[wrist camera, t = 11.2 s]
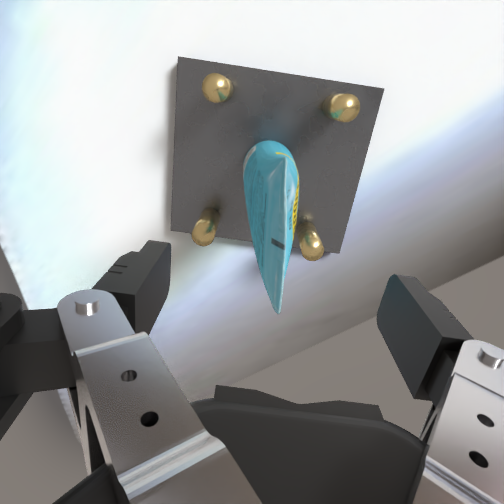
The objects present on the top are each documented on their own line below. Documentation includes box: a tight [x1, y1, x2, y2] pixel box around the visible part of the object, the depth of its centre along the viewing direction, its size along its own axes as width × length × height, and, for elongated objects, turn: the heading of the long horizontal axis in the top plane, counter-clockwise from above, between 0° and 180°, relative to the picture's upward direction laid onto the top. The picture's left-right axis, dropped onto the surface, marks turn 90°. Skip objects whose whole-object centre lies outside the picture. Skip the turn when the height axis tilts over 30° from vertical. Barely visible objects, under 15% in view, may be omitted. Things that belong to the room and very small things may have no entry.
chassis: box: [171, 57, 384, 261], centre depth 31 cm, size 18×16×6 cm
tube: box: [243, 140, 299, 314], centre depth 24 cm, size 7×5×19 cm, turn 4°
